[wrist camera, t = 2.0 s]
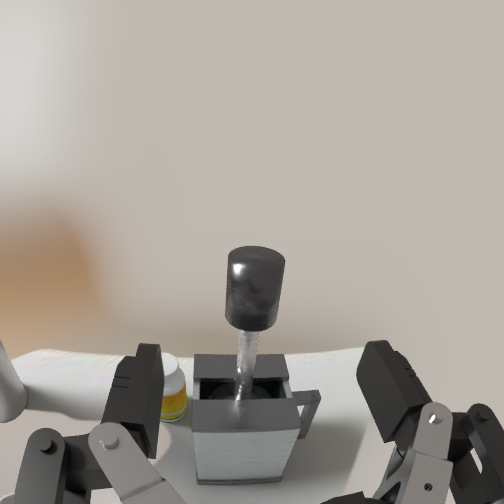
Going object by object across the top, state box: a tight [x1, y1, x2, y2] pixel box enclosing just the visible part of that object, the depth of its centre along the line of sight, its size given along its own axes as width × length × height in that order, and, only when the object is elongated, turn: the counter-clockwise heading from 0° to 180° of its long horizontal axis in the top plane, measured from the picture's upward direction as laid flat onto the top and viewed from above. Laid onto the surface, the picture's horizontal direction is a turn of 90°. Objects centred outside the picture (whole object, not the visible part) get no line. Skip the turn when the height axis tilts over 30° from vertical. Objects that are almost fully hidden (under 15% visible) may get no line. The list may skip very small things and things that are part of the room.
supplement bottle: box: [160, 353, 187, 422], centre depth 37 cm, size 5×5×10 cm
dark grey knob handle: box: [208, 246, 285, 400], centre depth 26 cm, size 7×7×18 cm
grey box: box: [192, 354, 321, 485], centre depth 32 cm, size 13×10×14 cm
